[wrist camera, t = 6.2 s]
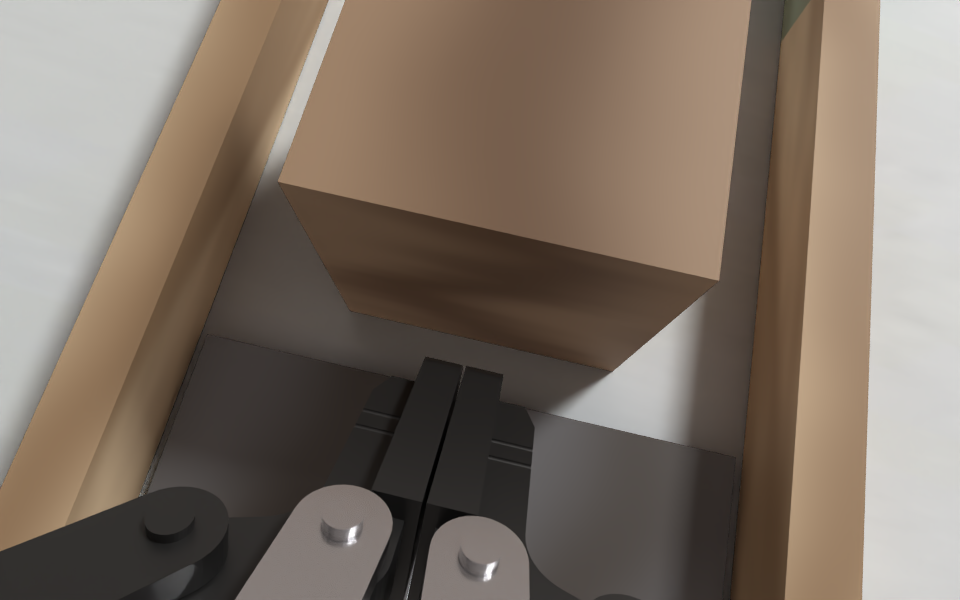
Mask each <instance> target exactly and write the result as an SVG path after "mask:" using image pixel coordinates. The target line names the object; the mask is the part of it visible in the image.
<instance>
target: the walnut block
mask: <svg viewBox="0 0 960 600" xmlns="http://www.w3.org/2000/svg"><path fill="white" fill-rule="evenodd" d="M750 9H751V0H345V2H344V5H343V8H342V10H341V13H340V16H339V19H338V21H337V24H336V27H335V29H334V32H333V35H332V37H331V40H330V43H329V45H328V48H327V51H326V53H325V56H324V59H323V61H322V64H321V67H320V69H319V72H318V75H317V77H316V80H315V83H314V85H313V88H312V91H311V93H310V96H309V99H308V101H307V104H306V107H305V110H304V112H303V115H302V118H301V120H300V123H299V126H298V128H297V131H296V134H295V136H294V139H293V142H292V144H291V147H290V150H289V152H288V155H287V158H286V160H285V163H284V166H283V168H282V171H281V174H280V176H279V179H278V183H279V185H280V187H281V189H282V190H283V192H284V194H285V196H286V198H287V199H288V201H289V203H290V205H291V207H292V208H293V210H294V212H295V214H296V215H297V217H298V219H299V221H300V223H301V224H302V226H303V228H304V230H305V232H306V233H307V235H308V237H309V239H310V240H311V242H312V244H313V246H314V248H315V249H316V251H317V253H318V255H319V257H320V258H321V260H322V262H323V264H324V265H325V267H326V269H327V271H328V273H329V274H330V276H331V278H332V280H333V282H334V283H335V285H336V287H337V289H338V290H339V292H340V294H341V296H342V298H343V299H344V301H345V303H346V305H347V307H348V308H349V310H350V311H353V312H357V313H362V314H366V315H370V316H374V317H379V318H383V319H387V320H392V321H396V322H400V323H405V324H409V325H413V326H418V327H422V328H426V329H431V330H435V331H439V332H444V333H448V334H452V335H457V336H461V337H465V338H469V339H474V340H478V341H482V342H487V343H491V344H495V345H500V346H504V347H508V348H513V349H517V350H521V351H526V352H530V353H534V354H539V355H543V356H547V357H552V358H556V359H560V360H564V361H569V362H573V363H577V364H582V365H586V366H590V367H595V368H599V369H603V370H608V371H612V372H613V371H614V370H615V369H616V368H617V367H618V366H620V365H621V364H622V363H623V362H624V361H625V360H627V359H628V358H629V357H630V356H631V355H633V354H634V353H635V352H636V351H637V350H638V349H640V348H641V347H642V346H643V345H644V344H645V343H647V342H648V341H649V340H650V339H651V338H652V337H654V336H655V335H656V334H657V333H658V332H660V331H661V330H662V329H663V328H664V327H665V326H667V325H668V324H669V323H670V322H671V321H672V320H674V319H675V318H676V317H677V316H678V315H680V314H681V313H682V312H683V311H684V310H685V309H687V308H688V307H689V306H690V305H691V304H692V303H694V302H695V301H696V300H697V299H698V298H699V297H701V296H702V295H703V294H704V293H705V292H707V291H708V290H709V289H710V288H711V287H712V286H714V285H715V284H716V283H717V282H718V281H719V278H720V269H721V261H722V252H723V243H724V235H725V226H726V217H727V209H728V200H729V191H730V183H731V174H732V165H733V156H734V148H735V139H736V130H737V122H738V113H739V104H740V96H741V87H742V78H743V70H744V61H745V52H746V44H747V35H748V26H749V18H750Z"/></svg>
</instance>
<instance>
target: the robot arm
mask: <svg viewBox="0 0 960 600" xmlns="http://www.w3.org/2000/svg"><path fill="white" fill-rule="evenodd" d="M462 370H463V365H459V364H455V363H451V362H446V361H442V360H438V359H434V358H429V357H425V359H424V361H423V364H422V366H421V369H420V371H419V374H418V376H417V378H416V381H410V380H406V379H402V378H398V377H394V376H391V377H390V378H388V379H387V380H386V381H384V382H383V383H381V384H380V385H378V386H377V387H376V388H374V389H373V390H372V392H371V394H370V396H369V398H368V400H367V402H366V404H365V406H364V408H363V412H361V414H360V416H359V418H358V420H357V422H356V425H355V427H354V428H353V430H352V432H351V434H350V436H349V438H348V440H347V442H346V444H345V446H344V448H343V450H342V451H341V453H340V455H339V457H338V459H337V461H336V463H335V465H334V467H333V469H332V471H331V473H330V475H329V477H328V479H327V481H326V483H325V485H324V487H323V488H320V489H318V490H316V491H314V492H312V493H310V494H309V495H307V496H306V497H305V498H303V499H302V500H301V501H300V502H299V503H298V505H297V506H296V507H295V509H294V510H293V511H290V512H287V513H284V514H279V515H274V516H261V517H229V516H228V512H227V509H226V507H225V505H224V503H223V502H222V501H221V500H220V499H219V498H218V497H217V496H215V495H214V494H212V493H210V492H208V491H206V490H203V489H200V488H195V487H170V488H165V489H160V490H157V491H154V492H151V493H148V494H146V495H143V496H141V497H138V498H135V499H133V500H130V501H128V502H125V503H123V504H120V505H118V506H115V507H112V508H110V509H107V510H105V511H102V512H100V513H97V514H95V515H92V516H89V517H87V518H84V519H82V520H79V521H77V522H74V523H71V524H69V525H66V526H64V527H61V528H59V529H56V530H54V531H51V532H48V533H46V534H43V535H41V536H38V537H36V538H33V539H31V540H28V541H25V542H23V543H20V544H18V545H15V546H13V547H10V548H7V549H5V550H2V551H0V600H404V597H405V594H406V590H407V587H408V583H409V579H410V576H411V572H412V569H413V565H414V569H413V574H412V579H411V584H410V589H409V594H408V599H407V600H580V599H578V598H577V597H575V596H573V595H571V594H569V593H568V592H566V591H564V590H562V589H561V588H559V587H558V586H556V585H555V584H553V583H552V582H551V581H550V580H548V579H547V578H546V577H545V576H544V575H543V574H542V573H541V572H540V571H539V569H538V568H537V567H536V565H535V564H534V562H533V561H532V559H531V557H530V555H529V552H528V549H527V545H526V536H525V533H526V522H527V510H528V499H529V488H530V477H531V465H532V454H533V452H532V450H533V443H534V431H535V427H534V425H533V423H532V421H531V418H530V416H529V414H528V412H527V410H526V408H525V407H521V406H517V405H513V404H509V403H504V402H500V401H499V397H500V391H501V386H502V381H503V374H498V373H494V372H490V371H486V370H481V369H477V368H473V367H468V366H466V368H465V372H464V375H463V379H462V382H461V386H460V389H459V385H460V380H461V375H462ZM458 390H459V393H458ZM457 394H458V396H457ZM456 399H457V400H456ZM415 558H416V559H415ZM414 562H415V564H414ZM594 600H640V599H638V598H635V597H632V596H628V595H623V594H606V595H602V596H599V597H597V598H595V599H594Z"/></svg>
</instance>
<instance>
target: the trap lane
mask: <svg viewBox="0 0 960 600" xmlns="http://www.w3.org/2000/svg"><path fill="white" fill-rule="evenodd" d="M327 3H328V0H221V1H220V3H219V5H218V8H217V10H216V12H215V14H214V17H213V19H212V21H211V23H210V25H209V28H208V30H207V32H206V34H205V36H204V39H203V41H202V43H201V45H200V48H199V50H198V52H197V54H196V56H195V59H194V61H193V63H192V65H191V68H190V70H189V72H188V74H187V76H186V79H185V81H184V83H183V85H182V87H181V90H180V92H179V94H178V96H177V99H176V101H175V103H174V105H173V107H172V110H171V112H170V114H169V116H168V119H167V121H166V123H165V125H164V127H163V130H162V132H161V134H160V136H159V138H158V141H157V143H156V145H155V147H154V150H153V152H152V154H151V156H150V158H149V161H148V163H147V165H146V167H145V169H144V172H143V174H142V176H141V178H140V181H139V183H138V185H137V187H136V189H135V192H134V194H133V196H132V198H131V201H130V203H129V205H128V207H127V209H126V212H125V214H124V216H123V218H122V220H121V223H120V225H119V227H118V229H117V232H116V234H115V236H114V238H113V240H112V243H111V245H110V247H109V249H108V251H107V254H106V256H105V258H104V260H103V263H102V265H101V267H100V269H99V271H98V274H97V276H96V278H95V280H94V283H93V285H92V287H91V289H90V291H89V294H88V296H87V298H86V300H85V302H84V305H83V307H82V309H81V311H80V314H79V316H78V318H77V320H76V322H75V325H74V327H73V329H72V331H71V334H70V336H69V338H68V340H67V342H66V345H65V347H64V349H63V351H62V353H61V356H60V358H59V360H58V362H57V365H56V367H55V369H54V371H53V373H52V376H51V378H50V380H49V382H48V384H47V387H46V389H45V391H44V393H43V396H42V398H41V400H40V402H39V404H38V407H37V409H36V411H35V413H34V416H33V418H32V420H31V422H30V424H29V427H28V429H27V431H26V433H25V435H24V438H23V440H22V442H21V444H20V447H19V449H18V451H17V453H16V455H15V458H14V460H13V462H12V464H11V466H10V469H9V471H8V473H7V475H6V478H5V480H4V482H3V484H2V486H1V489H0V551H2V550H5V549H7V548H10V547H13V546H15V545H18V544H20V543H23V542H25V541H28V540H31V539H33V538H36V537H38V536H41V535H43V534H46V533H48V532H51V531H54V530H56V529H59V528H61V527H64V526H66V525H69V524H71V523H74V522H77V521H79V520H82V519H84V518H87V517H89V516H92V515H95V514H97V513H100V512H102V511H105V510H107V509H110V508H112V507H115V506H118V505H120V504H123V503H125V502H128V501H130V500H133V499H135V498H138V497H139V494H140V492H141V489H142V486H143V484H144V481H145V479H146V476H147V473H148V471H149V468H150V466H151V463H152V460H153V458H154V455H155V452H156V450H157V447H158V445H159V442H160V439H161V437H162V434H163V432H164V429H165V426H166V424H167V421H168V418H169V416H170V413H171V411H172V408H173V405H174V403H175V400H176V398H177V395H178V392H179V390H180V387H181V384H182V382H183V379H184V377H185V374H186V371H187V369H188V366H189V364H190V361H191V358H192V356H193V353H194V350H195V348H196V345H197V343H198V340H199V337H200V335H201V332H202V330H203V327H204V324H205V322H206V319H207V317H208V314H209V311H210V309H211V306H212V303H213V301H214V298H215V296H216V293H217V290H218V288H219V285H220V283H221V280H222V277H223V275H224V272H225V269H226V267H227V264H228V262H229V259H230V256H231V254H232V251H233V249H234V246H235V243H236V241H237V238H238V235H239V233H240V230H241V228H242V225H243V222H244V220H245V217H246V215H247V212H248V209H249V207H250V204H251V201H252V199H253V196H254V194H255V191H256V188H257V186H258V183H259V181H260V178H261V175H262V173H263V170H264V167H265V165H266V162H267V160H268V157H269V154H270V152H271V149H272V147H273V144H274V141H275V139H276V136H277V134H278V131H279V128H280V126H281V123H282V120H283V118H284V115H285V113H286V110H287V107H288V105H289V102H290V100H291V97H292V94H293V92H294V89H295V86H296V84H297V81H298V79H299V76H300V73H301V71H302V68H303V66H304V63H305V60H306V58H307V55H308V52H309V50H310V47H311V45H312V42H313V39H314V37H315V34H316V32H317V29H318V26H319V24H320V21H321V18H322V16H323V13H324V11H325V8H326V5H327ZM879 22H880V0H785V3H784V14H783V25H782V36H781V47H780V58H779V69H778V80H777V90H776V101H775V112H774V123H773V134H772V145H771V156H770V167H769V178H768V189H767V200H766V211H765V222H764V233H763V244H762V255H761V265H760V276H759V287H758V298H757V309H756V320H755V331H754V342H753V353H752V364H751V375H750V386H749V397H748V408H747V419H746V430H745V440H744V451H743V462H742V473H741V484H740V495H739V506H738V517H737V528H736V539H735V550H734V561H733V572H732V583H731V594H730V600H862V578H863V545H864V513H865V480H866V447H867V414H868V382H869V349H870V316H871V284H872V251H873V218H874V185H875V153H876V120H877V87H878V55H879ZM388 378H390V377H388V376H384V375H380V374H376V373H371V372H367V371H363V370H358V369H354V368H350V367H346V366H341V365H337V364H333V363H328V362H324V361H320V360H316V359H311V358H307V357H303V356H298V355H294V354H290V353H286V352H281V351H277V350H273V349H268V348H264V347H260V346H256V345H251V344H247V343H243V342H238V341H234V340H230V339H226V338H221V337H217V336H213V335H208V334H207V336H206V339H205V342H204V344H203V347H202V350H201V352H200V355H199V358H198V360H197V363H196V366H195V368H194V371H193V373H192V376H191V379H190V381H189V384H188V387H187V389H186V392H185V395H184V397H183V400H182V402H181V405H180V408H179V410H178V413H177V416H176V418H175V421H174V424H173V426H172V429H171V431H170V434H169V437H168V439H167V442H166V445H165V447H164V450H163V453H162V455H161V458H160V460H159V463H158V466H157V468H156V471H155V474H154V476H153V479H152V482H151V484H150V487H149V490H148V492H147V494H148V493H151V492H154V491H157V490H160V489H165V488H170V487H195V488H200V489H203V490H206V491H208V492H210V493H212V494H214V495H215V496H217V497H218V498H219V499H220V500H221V501H222V502H223V503H224V505H225V507H226V509H227V512H228V516H229V517H261V516H274V515H279V514H284V513H287V512H290V511H293V510H294V509H295V507H296V506H297V505H298V503H299V502H300V501H301V500H302V499H303V498H305V497H306V496H307V495H309V494H310V493H312V492H314V491H316V490H318V489H320V488H323V487H324V485H325V483H326V481H327V479H328V477H329V475H330V473H331V471H332V469H333V467H334V465H335V463H336V461H337V459H338V457H339V455H340V453H341V451H342V450H343V448H344V446H345V444H346V442H347V440H348V438H349V436H350V434H351V432H352V430H353V428H354V427H355V425H356V422H357V420H358V418H359V416H360V414H361V412H363V408H364V406H365V404H366V402H367V400H368V398H369V396H370V394H371V392H372V390H373V389H374V388H376V387H377V386H378V385H380V384H381V383H383V382H384V381H386V380H387V379H388ZM526 410H527V412H528V414H529V416H530V418H531V421H532V423H533V425H534V427H535V431H534V443H533V450H532V452H533V454H532V465H531V477H530V488H529V499H528V510H527V522H526V533H525V536H526V545H527V549H528V552H529V555H530V557H531V559H532V561H533V562H534V564H535V565H536V567H537V568H538V569H539V571H540V572H541V573H542V574H543V575H544V576H545V577H546V578H547V579H548V580H550V581H551V582H552V583H553V584H555V585H556V586H558V587H559V588H561V589H562V590H564V591H566V592H568V593H569V594H571V595H573V596H575V597H577V598H578V599H580V600H594V599H595V598H597V597H599V596H602V595H606V594H623V595H628V596H632V597H635V598H638V599H640V600H722V597H723V586H724V576H725V565H726V555H727V544H728V534H729V523H730V513H731V502H732V492H733V481H734V471H735V460H736V457H731V456H727V455H723V454H719V453H714V452H710V451H706V450H701V449H697V448H693V447H689V446H684V445H680V444H676V443H671V442H667V441H663V440H659V439H654V438H650V437H646V436H641V435H637V434H633V433H629V432H624V431H620V430H616V429H611V428H607V427H603V426H599V425H594V424H590V423H586V422H581V421H577V420H573V419H569V418H564V417H560V416H556V415H551V414H547V413H543V412H539V411H534V410H530V409H526ZM415 559H416V558H415ZM414 564H415V562H414ZM413 569H414V565H413ZM413 569H412V572H411V576H410V579H409V583H408V587H407V590H406V594H405V597H404V600H406V598H407V594H408V589H409V585H410V581H411V577H412V573H413Z"/></svg>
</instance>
